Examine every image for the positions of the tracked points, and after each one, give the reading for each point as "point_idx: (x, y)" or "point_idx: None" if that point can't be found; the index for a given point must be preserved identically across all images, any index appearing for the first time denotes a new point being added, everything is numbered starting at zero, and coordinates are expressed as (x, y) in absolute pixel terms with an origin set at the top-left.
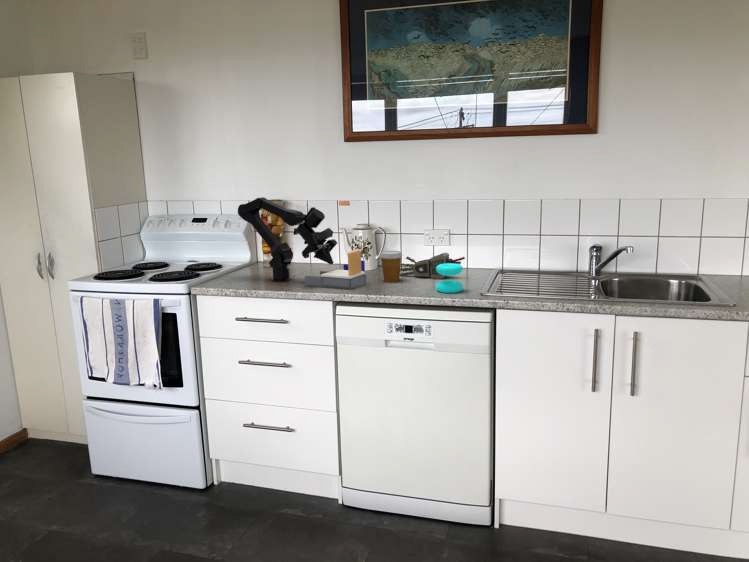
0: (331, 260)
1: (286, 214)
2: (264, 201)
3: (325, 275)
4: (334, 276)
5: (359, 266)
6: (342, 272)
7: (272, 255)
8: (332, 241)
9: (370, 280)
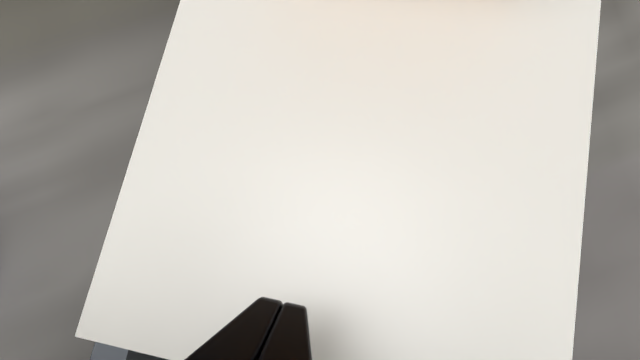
0: (276, 344)
1: None
2: None
3: (568, 346)
4: (582, 175)
5: None
6: (315, 149)
7: None
8: None
9: (89, 8)
